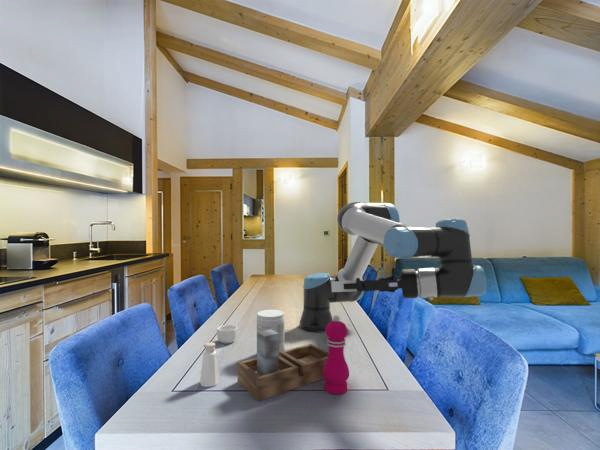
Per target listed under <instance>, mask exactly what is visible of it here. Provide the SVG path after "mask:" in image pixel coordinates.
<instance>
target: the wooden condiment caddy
mask: <svg viewBox="0 0 600 450" xmlns="http://www.w3.org/2000/svg"><path fill="white" fill-rule="evenodd" d="M328 354H329V351H327V350H325V349H323V348H320V346H319V347H318V346H316V345H315V344H313V343H309V344H303V345H302V346H298V347H293V348H289V349H286V350H285V351H281V352H279V333H277V332H275V331H273V330H271V329H270V330H265V331H260V332H257V331H256V357H253V358H250V359H246V360H243V361H238V362H237V383H238V384H239V385H240V386H241V387H242V388H244V389H245V391H247V392H248V393H249V395H251V396H252V397H253V398H254V399H255V400H257V401H258V402H260V401H262V400H265V399H268V398H272V397H274V396H277V395H280V394H284V393H286V392H288V391H291V390H294V389H298V388H300V386H301V387H304V386H306V385H308V383H309V384H312V383H314V381H315V382H318V381H320V379H321V380H323V378H324V376H323V367H324V364H325V362H326V360H327V357H328ZM324 379H325V378H324ZM317 380H318V381H317ZM303 385H304V386H303ZM297 387H298V388H297Z"/></svg>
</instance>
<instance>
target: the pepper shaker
mask: <svg viewBox="0 0 600 450" xmlns="http://www.w3.org/2000/svg"><path fill="white" fill-rule="evenodd" d="M204 350H205V351H204V352H203V354H202V361H201V368H200V369H201V370H200V380H199V383H200V385H201V387H205V388H210V387H211V388H212V387H216V385H218V384H219V383H220V375H219V374H220V372H219V362H218V354H217V351H216V343H215V342H212V341H211V342H206V343H205V344H204Z"/></svg>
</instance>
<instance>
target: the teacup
mask: <svg viewBox="0 0 600 450" xmlns="http://www.w3.org/2000/svg"><path fill="white" fill-rule="evenodd" d="M216 337H217V340H218V341H219V342H220V343H221V344H227V345H228V344H232V343H233V342H235V340H237V338H238V326H237V325H235V324H224V325H219V326H218V327H217V328H216Z"/></svg>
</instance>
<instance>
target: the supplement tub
mask: <svg viewBox="0 0 600 450" xmlns="http://www.w3.org/2000/svg"><path fill="white" fill-rule="evenodd" d="M270 329H271V330H273V331H275V332H277V333H279V352H281V351H285V345H286V344H285V341H286V340H285V313H284V311H282V310H279V309H265V310H260V311H258V312H257V313H256V333H257V332H260V331H265V330H270Z"/></svg>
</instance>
